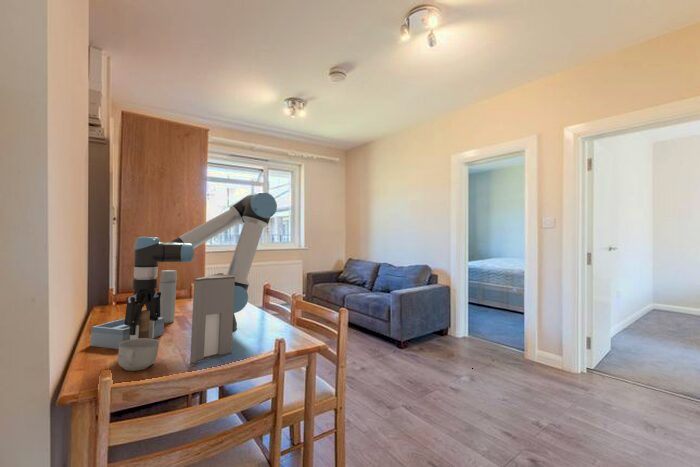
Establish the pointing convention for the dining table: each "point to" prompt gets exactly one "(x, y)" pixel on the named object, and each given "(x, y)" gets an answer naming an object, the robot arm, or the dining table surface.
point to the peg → (144, 324)
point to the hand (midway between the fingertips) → (142, 340)
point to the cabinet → (212, 317)
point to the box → (117, 333)
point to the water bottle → (167, 295)
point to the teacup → (137, 353)
